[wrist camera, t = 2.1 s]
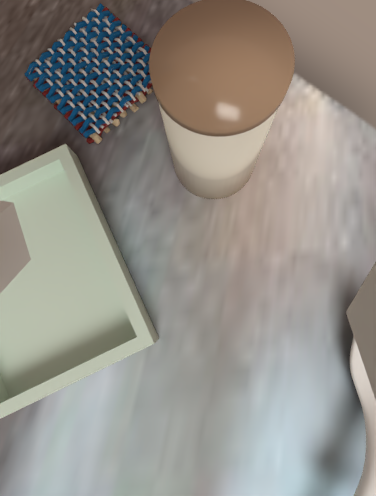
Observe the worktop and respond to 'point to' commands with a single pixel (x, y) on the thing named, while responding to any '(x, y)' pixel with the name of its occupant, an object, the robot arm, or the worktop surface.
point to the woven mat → (94, 73)
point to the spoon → (372, 480)
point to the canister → (219, 90)
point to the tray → (63, 286)
